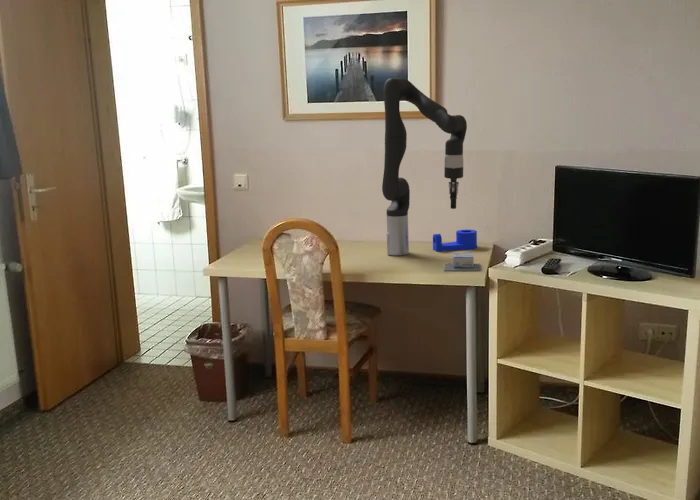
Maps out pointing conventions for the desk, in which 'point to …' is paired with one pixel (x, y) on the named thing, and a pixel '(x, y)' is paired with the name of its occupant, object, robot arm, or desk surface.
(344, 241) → the desk surface
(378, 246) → the desk surface
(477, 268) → the mat
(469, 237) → the bracket
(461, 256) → the medicine box
